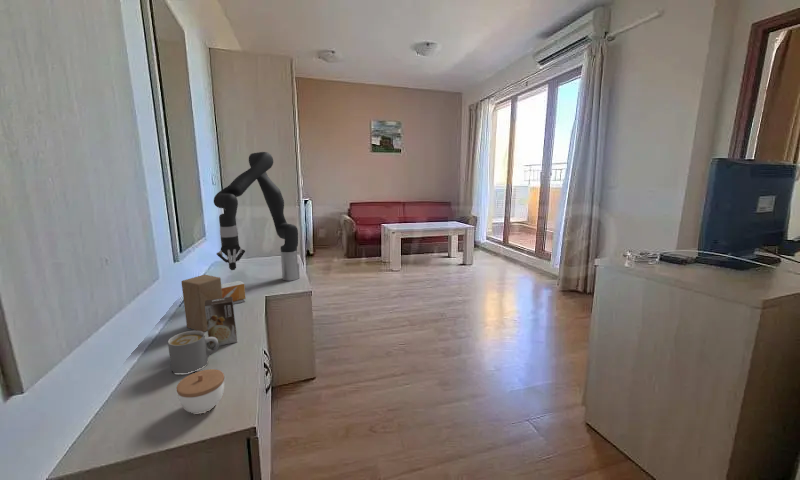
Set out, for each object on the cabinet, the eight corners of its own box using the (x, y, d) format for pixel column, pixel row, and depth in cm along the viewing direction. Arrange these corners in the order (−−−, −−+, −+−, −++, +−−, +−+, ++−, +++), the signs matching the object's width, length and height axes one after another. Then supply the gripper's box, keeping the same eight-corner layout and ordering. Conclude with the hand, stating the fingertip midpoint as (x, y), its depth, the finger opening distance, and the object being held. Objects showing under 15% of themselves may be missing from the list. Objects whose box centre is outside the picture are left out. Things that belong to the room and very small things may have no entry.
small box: (246, 298, 164) (217, 305, 155) (241, 295, 168) (213, 302, 159) (244, 283, 162) (215, 289, 153) (240, 280, 167) (211, 286, 158)
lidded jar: (233, 393, 93) (230, 363, 91) (213, 421, 83) (210, 387, 81) (195, 394, 93) (191, 363, 91) (170, 421, 82) (165, 388, 81)
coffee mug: (168, 378, 100) (164, 348, 98) (175, 361, 109) (171, 333, 107) (218, 368, 105) (215, 339, 103) (220, 353, 114) (218, 326, 112)
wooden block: (225, 323, 138) (221, 277, 134) (202, 333, 129) (197, 284, 125) (209, 318, 142) (204, 274, 138) (186, 328, 133) (180, 280, 129)
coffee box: (236, 335, 127) (233, 295, 124) (237, 342, 122) (233, 301, 119) (209, 340, 123) (205, 299, 120) (208, 348, 117) (204, 305, 114)
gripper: (242, 232, 165) (245, 265, 168) (212, 235, 157) (216, 270, 160) (245, 234, 159) (249, 269, 162) (215, 238, 151) (219, 274, 154)
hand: (232, 269), depth 161 cm, fingers closed
